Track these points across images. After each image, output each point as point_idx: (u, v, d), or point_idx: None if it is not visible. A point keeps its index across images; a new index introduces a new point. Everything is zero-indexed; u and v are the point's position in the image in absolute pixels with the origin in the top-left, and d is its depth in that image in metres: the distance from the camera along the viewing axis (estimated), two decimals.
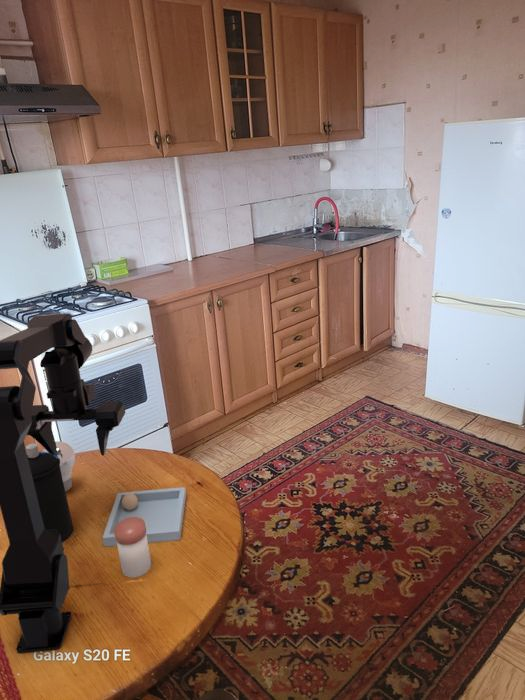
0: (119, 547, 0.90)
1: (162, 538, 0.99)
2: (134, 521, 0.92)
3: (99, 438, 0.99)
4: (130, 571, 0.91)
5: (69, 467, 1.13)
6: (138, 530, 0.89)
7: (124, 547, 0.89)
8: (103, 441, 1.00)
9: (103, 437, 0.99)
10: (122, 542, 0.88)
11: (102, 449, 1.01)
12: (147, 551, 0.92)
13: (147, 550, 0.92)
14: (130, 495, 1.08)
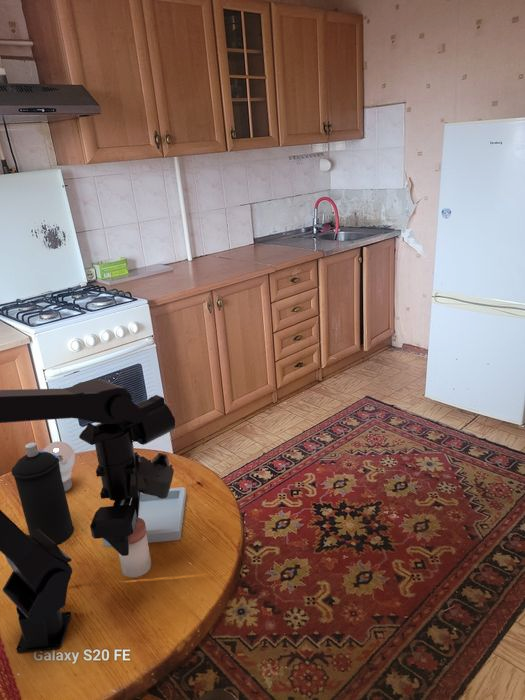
0: None
1: (162, 538, 0.99)
2: None
3: None
4: (130, 571, 0.91)
5: (69, 467, 1.13)
6: (138, 530, 0.89)
7: None
8: None
9: None
10: None
11: None
12: (147, 551, 0.92)
13: (147, 550, 0.92)
14: None
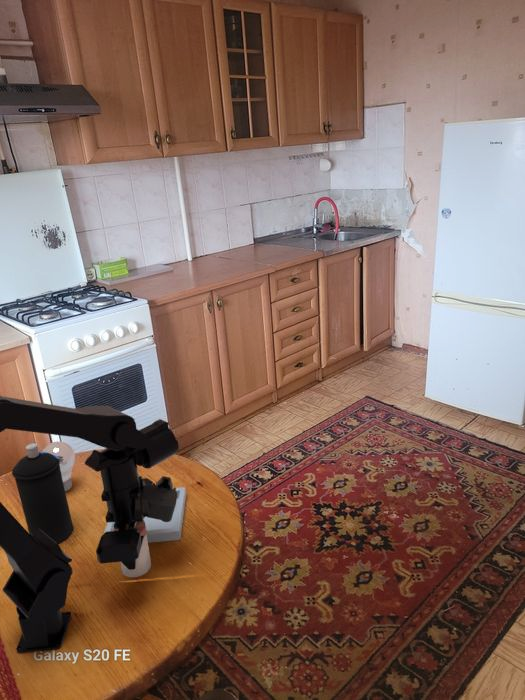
0: None
1: (162, 538, 0.99)
2: None
3: None
4: (130, 571, 0.91)
5: (69, 467, 1.13)
6: (138, 530, 0.89)
7: None
8: None
9: None
10: None
11: None
12: (147, 551, 0.92)
13: (147, 550, 0.92)
14: None
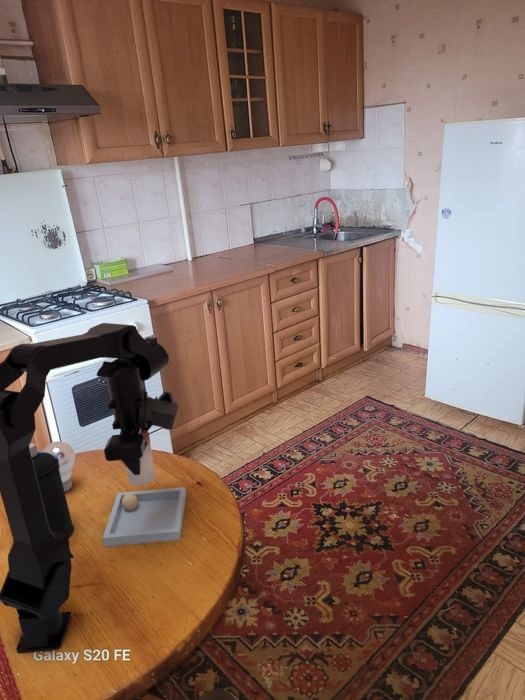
0: None
1: (162, 538, 0.99)
2: None
3: None
4: (135, 477, 0.99)
5: (69, 467, 1.13)
6: None
7: None
8: None
9: None
10: None
11: None
12: (151, 459, 1.00)
13: (151, 458, 1.00)
14: (130, 495, 1.08)
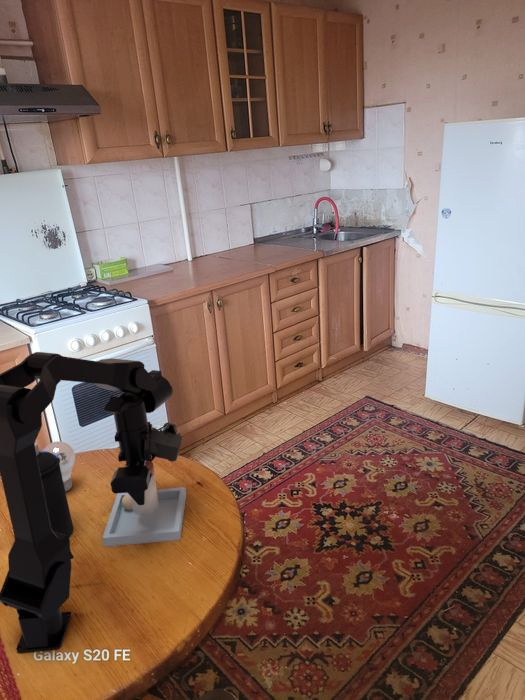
0: None
1: (162, 538, 0.99)
2: None
3: None
4: (140, 507, 1.01)
5: (69, 467, 1.13)
6: None
7: None
8: None
9: None
10: None
11: None
12: (155, 489, 1.03)
13: (155, 488, 1.03)
14: None
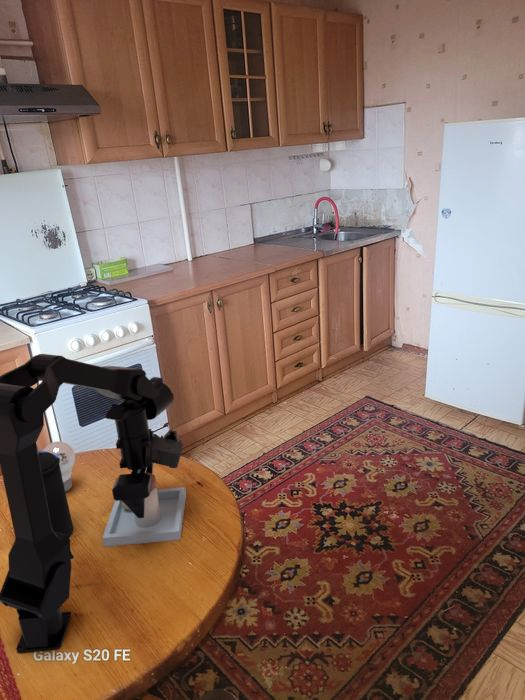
0: None
1: (162, 538, 0.99)
2: None
3: None
4: (142, 519, 1.02)
5: (69, 467, 1.13)
6: None
7: None
8: None
9: None
10: None
11: None
12: (157, 502, 1.04)
13: (157, 501, 1.04)
14: None
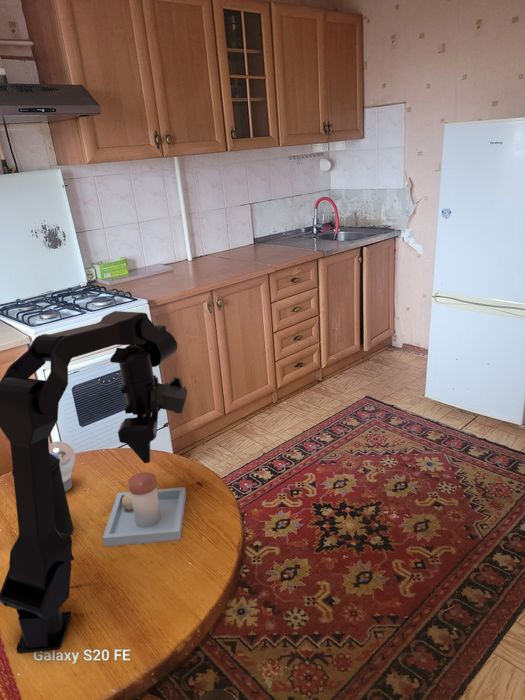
0: (132, 497, 1.02)
1: (162, 538, 0.99)
2: (146, 475, 1.04)
3: None
4: (142, 519, 1.02)
5: (69, 467, 1.13)
6: (149, 482, 1.01)
7: (137, 497, 1.01)
8: None
9: None
10: (136, 492, 1.00)
11: None
12: (157, 502, 1.04)
13: (157, 501, 1.04)
14: (130, 495, 1.08)
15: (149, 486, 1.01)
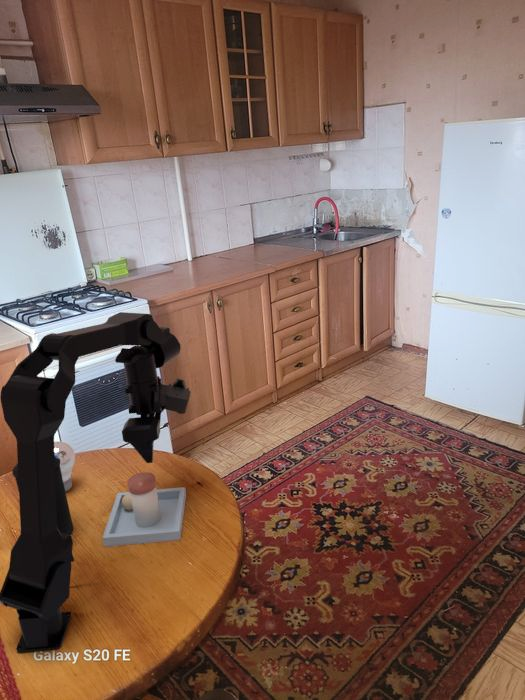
0: (132, 497, 1.02)
1: (162, 538, 0.99)
2: (145, 475, 1.04)
3: None
4: (142, 519, 1.02)
5: (69, 467, 1.13)
6: (149, 482, 1.01)
7: (137, 496, 1.01)
8: None
9: None
10: (135, 492, 1.00)
11: None
12: (157, 502, 1.04)
13: (157, 501, 1.04)
14: None
15: (148, 486, 1.01)
